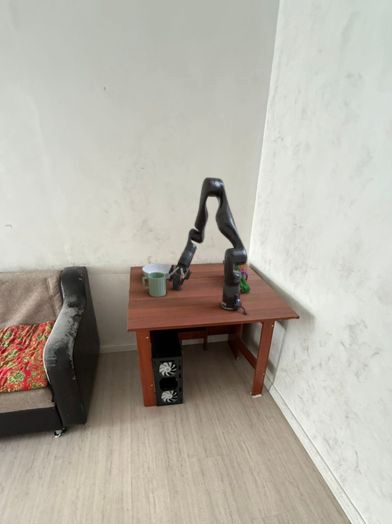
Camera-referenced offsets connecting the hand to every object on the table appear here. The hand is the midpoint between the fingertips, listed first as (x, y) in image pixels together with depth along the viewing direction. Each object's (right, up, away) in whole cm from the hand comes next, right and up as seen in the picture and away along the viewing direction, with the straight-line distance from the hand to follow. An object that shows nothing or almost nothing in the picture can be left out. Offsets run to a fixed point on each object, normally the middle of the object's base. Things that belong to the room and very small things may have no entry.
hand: (175, 282), depth 181 cm
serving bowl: (-12, +7, +17) cm, 22 cm away
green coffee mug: (-12, -7, -2) cm, 14 cm away
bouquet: (+41, +2, +12) cm, 43 cm away
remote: (+1, -3, +4) cm, 5 cm away
